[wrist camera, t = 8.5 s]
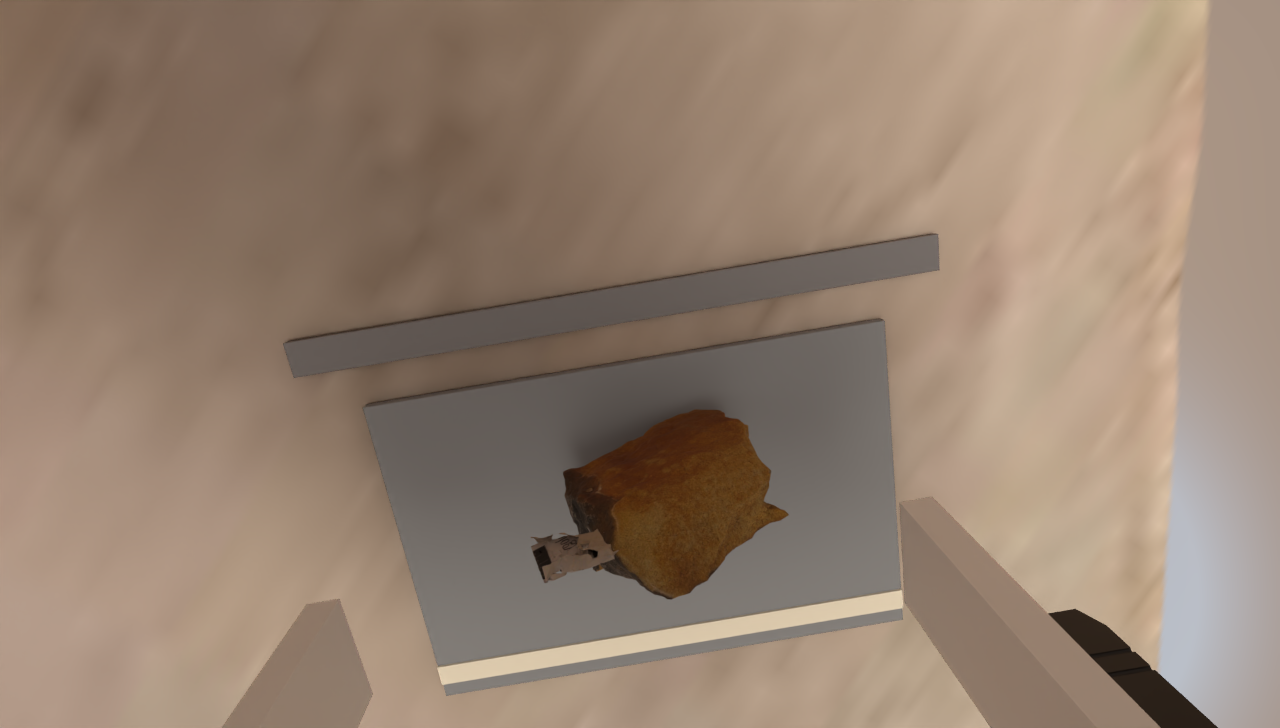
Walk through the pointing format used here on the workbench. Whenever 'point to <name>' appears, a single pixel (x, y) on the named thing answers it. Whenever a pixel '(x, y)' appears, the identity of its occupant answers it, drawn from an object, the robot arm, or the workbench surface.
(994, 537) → the workbench surface
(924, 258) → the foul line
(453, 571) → the mat
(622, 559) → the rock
